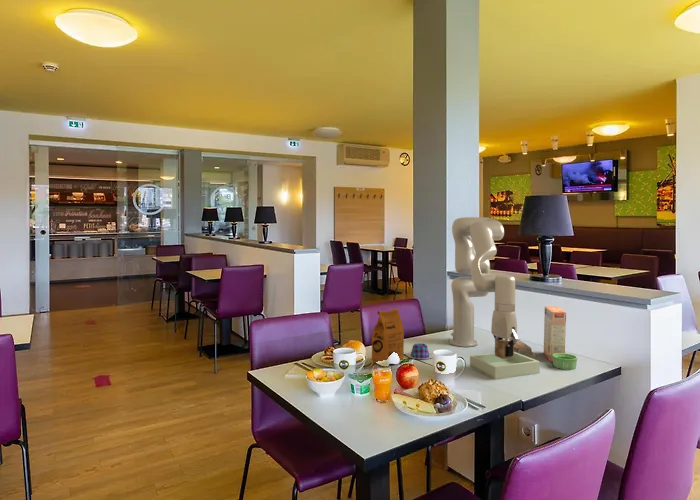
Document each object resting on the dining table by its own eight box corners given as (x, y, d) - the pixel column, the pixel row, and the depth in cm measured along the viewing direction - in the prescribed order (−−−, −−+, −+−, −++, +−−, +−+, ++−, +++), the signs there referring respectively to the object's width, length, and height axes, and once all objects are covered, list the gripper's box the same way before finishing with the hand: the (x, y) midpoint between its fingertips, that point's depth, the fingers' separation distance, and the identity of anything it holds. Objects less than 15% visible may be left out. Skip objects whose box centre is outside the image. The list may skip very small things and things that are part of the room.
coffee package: (368, 362, 193) (367, 309, 192) (390, 357, 201) (390, 306, 200) (384, 368, 186) (384, 313, 184) (407, 362, 193) (407, 309, 192)
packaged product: (536, 347, 199) (513, 347, 199) (536, 358, 200) (513, 358, 199) (521, 336, 217) (499, 337, 217) (521, 347, 218) (499, 347, 217)
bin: (470, 366, 187) (470, 355, 186) (511, 361, 193) (511, 350, 193) (495, 379, 172) (495, 367, 171) (539, 373, 178) (539, 361, 178)
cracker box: (565, 363, 191) (566, 312, 190) (550, 362, 192) (550, 311, 191) (557, 353, 205) (558, 306, 203) (543, 353, 206) (543, 305, 205)
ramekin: (582, 368, 185) (582, 357, 184) (567, 371, 180) (568, 360, 180) (561, 362, 192) (561, 351, 192) (547, 365, 188) (547, 355, 188)
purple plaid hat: (431, 352, 209) (432, 341, 208) (436, 360, 197) (436, 348, 196) (404, 352, 209) (404, 341, 209) (407, 360, 197) (407, 348, 197)
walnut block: (494, 355, 184) (494, 340, 183) (505, 354, 185) (505, 339, 185) (503, 359, 179) (503, 343, 179) (514, 357, 180) (514, 342, 180)
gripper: (483, 304, 188) (482, 350, 189) (511, 311, 172) (510, 361, 173) (498, 303, 190) (498, 348, 191) (528, 310, 174) (527, 359, 175)
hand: (504, 354), depth 182 cm, fingers closed on walnut block, 4 cm apart
